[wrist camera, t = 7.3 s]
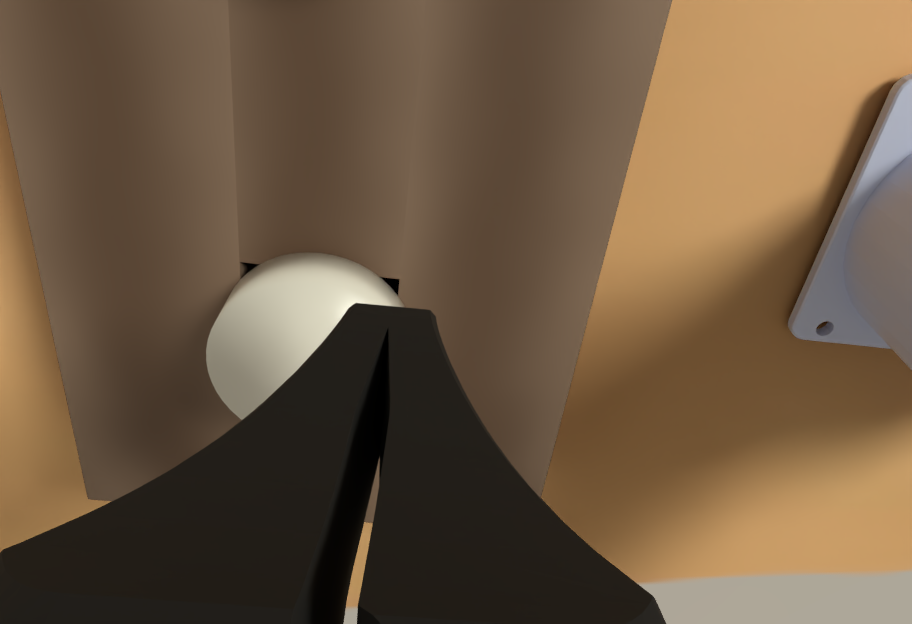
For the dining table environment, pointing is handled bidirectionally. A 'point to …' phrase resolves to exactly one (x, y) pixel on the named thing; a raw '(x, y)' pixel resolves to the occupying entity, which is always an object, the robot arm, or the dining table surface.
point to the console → (317, 189)
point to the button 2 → (283, 322)
